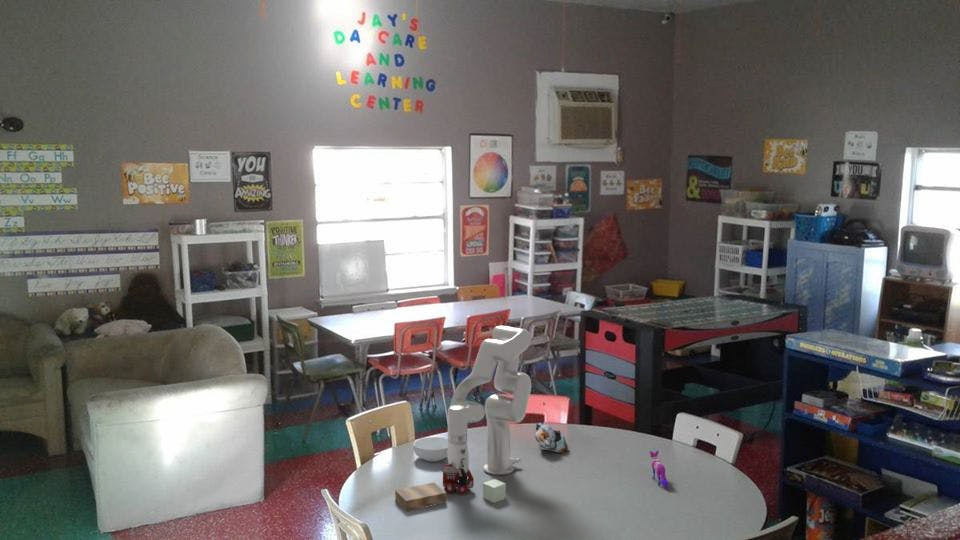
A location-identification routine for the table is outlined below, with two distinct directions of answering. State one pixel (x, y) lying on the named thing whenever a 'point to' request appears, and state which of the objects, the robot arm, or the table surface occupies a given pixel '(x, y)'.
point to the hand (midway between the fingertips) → (457, 480)
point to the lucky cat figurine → (550, 439)
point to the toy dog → (658, 468)
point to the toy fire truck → (455, 479)
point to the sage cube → (494, 490)
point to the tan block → (420, 496)
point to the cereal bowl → (431, 448)
